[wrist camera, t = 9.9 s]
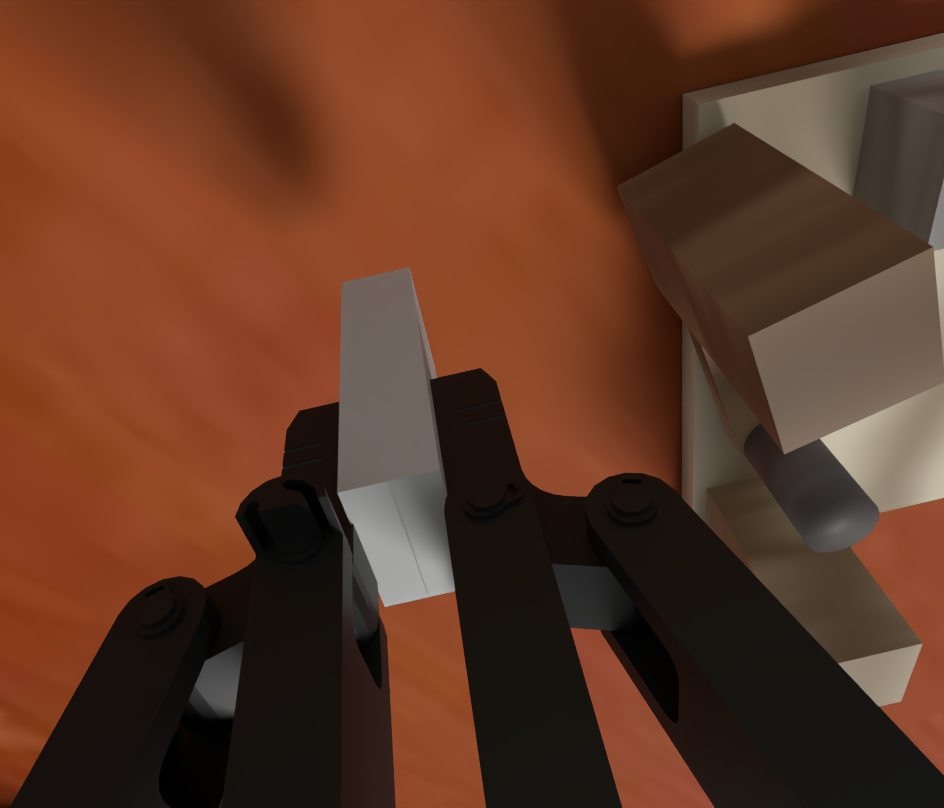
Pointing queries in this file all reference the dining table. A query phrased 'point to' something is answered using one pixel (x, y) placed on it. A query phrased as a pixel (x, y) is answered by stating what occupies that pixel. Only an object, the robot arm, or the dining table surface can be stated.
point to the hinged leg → (790, 313)
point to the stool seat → (875, 437)
